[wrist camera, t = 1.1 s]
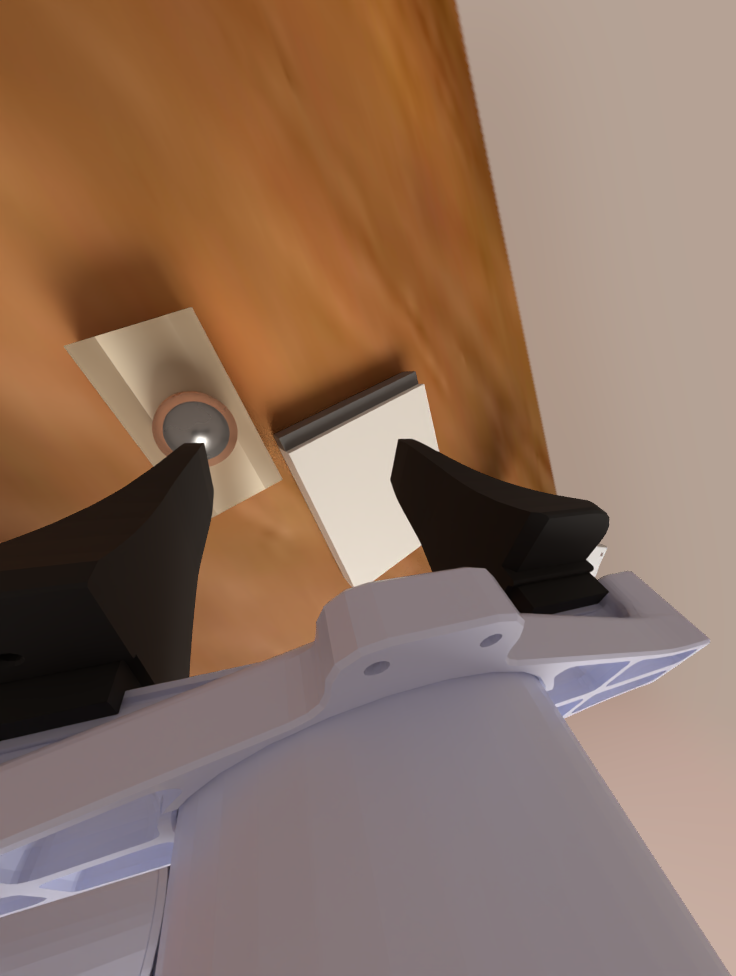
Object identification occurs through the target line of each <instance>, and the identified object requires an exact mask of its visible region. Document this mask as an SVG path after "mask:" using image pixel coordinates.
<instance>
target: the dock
mask: <svg viewBox="0 0 736 976" xmlns="http://www.w3.org/2000/svg"><path fill="white" fill-rule="evenodd" d="M273 436H274V438H275V440H276V442H277V444H278V446H279V449H280V451H281V453H282V455H283V457H284V459H285V461H286V463H287V465H288V467H289V469H290V471H291V473H292V475H293V477H294V479H295V481H296V483H297V485H298V487H299V489H300V491H301V493H302V495H303V497H304V499H305V501H306V503H307V505H308V507H309V509H310V511H311V513H312V515H313V517H314V519H315V521H316V523H317V525H318V527H319V529H320V531H321V533H322V535H323V537H324V539H325V541H326V543H327V545H328V547H329V549H330V551H331V553H332V555H333V556H334V558H335V560H336V562H337V564H338V566H339V568H340V570H341V572H342V574H343V576H344V578H345V579H346V581H347V582H348V583H349V584H350V585H351V586H352V587H355V586H358V585H361V584H364V583H367V582H372V581H374V580H375V579H376V578H378V577H379V576H380V575H382V574H383V573H385V572H386V571H387V570H389V569H390V568H391V567H393V566H394V565H395V564H397V563H398V562H399V561H401V560H402V559H403V558H405V557H406V556H407V555H409V554H410V553H411V552H413V551H414V550H416V549H417V548H418V547H420V546H421V543H420V541H419V539H418V537H417V535H416V534H415V532H414V530H413V528H412V526H411V524H410V523H409V521H408V519H407V517H406V515H405V514H404V512H403V510H402V508H401V506H400V504H399V502H398V500H397V498H396V496H395V493H394V490H393V487H392V484H391V481H390V478H391V473H392V468H393V462H394V457H395V452H396V447H397V442H398V439H414V440H417V441H419V442H421V443H423V444H425V445H427V446H429V447H431V448H432V449H434V450H436V451H438V452H439V449H438V445H437V440H436V436H435V431H434V427H433V422H432V418H431V413H430V409H429V404H428V400H427V395H426V391H425V386H424V384H418V380H417V376H416V372H415V371H413V372H402V373H400V374H398V375H395V376H393V377H391V378H389V379H387V380H385V381H383V382H381V383H379V384H377V385H375V386H373V387H371V388H369V389H367V390H364V391H362V392H360V393H358V394H356V395H354V396H352V397H350V398H348V399H346V400H344V401H342V402H340V403H338V404H336V405H333V406H331V407H329V408H327V409H325V410H323V411H321V412H319V413H317V414H315V415H313V416H311V417H309V418H307V419H305V420H302V421H300V422H298V423H296V424H294V425H292V426H290V427H288V428H286V429H284V430H282V431H280V432H278V433H276V434H274V435H273Z"/></svg>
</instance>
